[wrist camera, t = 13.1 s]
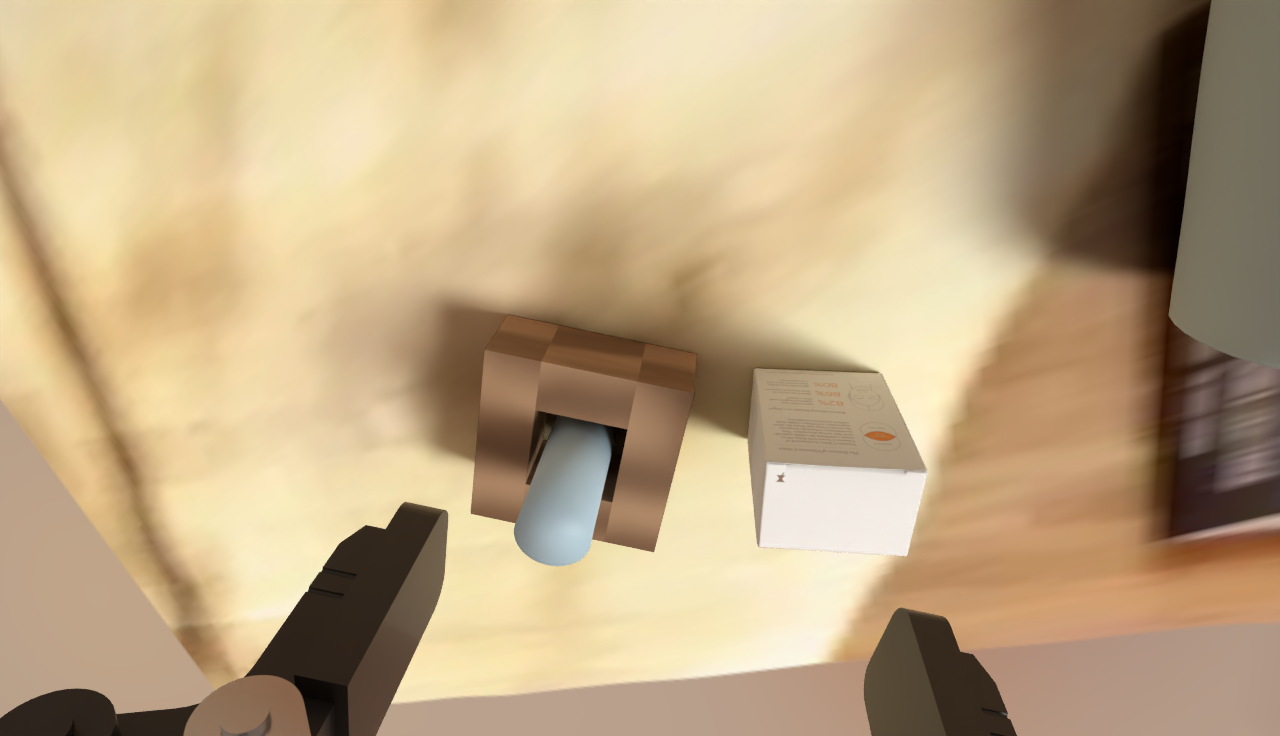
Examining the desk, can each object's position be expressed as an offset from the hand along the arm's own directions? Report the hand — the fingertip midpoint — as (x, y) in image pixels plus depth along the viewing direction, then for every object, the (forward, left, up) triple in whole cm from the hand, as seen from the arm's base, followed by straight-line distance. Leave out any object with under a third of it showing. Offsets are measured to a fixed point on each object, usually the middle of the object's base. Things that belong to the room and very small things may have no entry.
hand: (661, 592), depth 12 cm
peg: (+16, -4, -30) cm, 34 cm away
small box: (+12, +10, -30) cm, 34 cm away
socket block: (+16, -4, -30) cm, 34 cm away
